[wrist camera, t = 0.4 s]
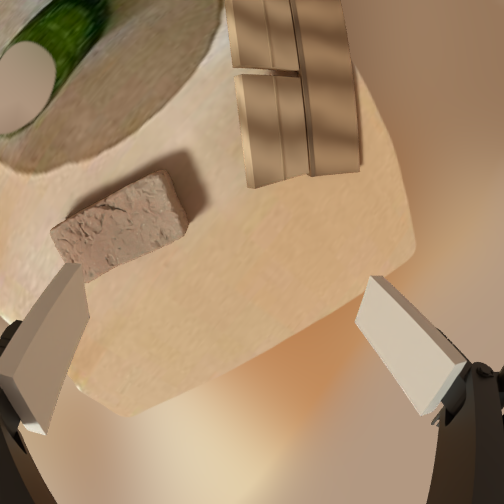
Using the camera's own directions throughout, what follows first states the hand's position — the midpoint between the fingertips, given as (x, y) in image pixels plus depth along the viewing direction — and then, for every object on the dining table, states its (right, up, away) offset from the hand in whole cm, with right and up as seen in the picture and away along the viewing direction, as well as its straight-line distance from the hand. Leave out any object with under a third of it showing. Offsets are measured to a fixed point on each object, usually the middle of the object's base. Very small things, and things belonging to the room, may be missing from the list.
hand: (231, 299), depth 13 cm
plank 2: (+3, +16, +19) cm, 25 cm away
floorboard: (+10, +24, +20) cm, 33 cm away
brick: (-16, +6, +23) cm, 29 cm away
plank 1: (+2, +28, +13) cm, 31 cm away
